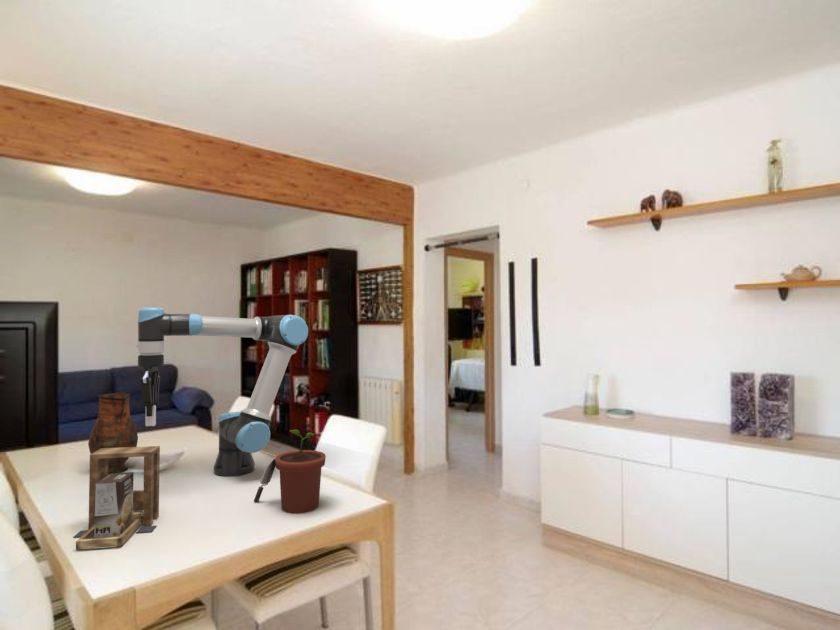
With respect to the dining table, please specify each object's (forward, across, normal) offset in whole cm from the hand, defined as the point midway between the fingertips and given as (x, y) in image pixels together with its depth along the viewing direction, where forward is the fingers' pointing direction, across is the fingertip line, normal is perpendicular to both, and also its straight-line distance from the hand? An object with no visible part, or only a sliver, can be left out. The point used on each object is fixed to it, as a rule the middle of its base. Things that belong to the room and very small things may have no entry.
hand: (150, 425), depth 160 cm
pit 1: (+24, +25, -9) cm, 36 cm away
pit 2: (+24, +25, +7) cm, 36 cm away
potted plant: (+25, +13, +47) cm, 54 cm away
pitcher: (+25, -38, -26) cm, 53 cm away
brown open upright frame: (+24, +19, -1) cm, 31 cm away
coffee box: (+25, +28, 0) cm, 37 cm away
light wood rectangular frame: (+24, +23, -1) cm, 33 cm away
